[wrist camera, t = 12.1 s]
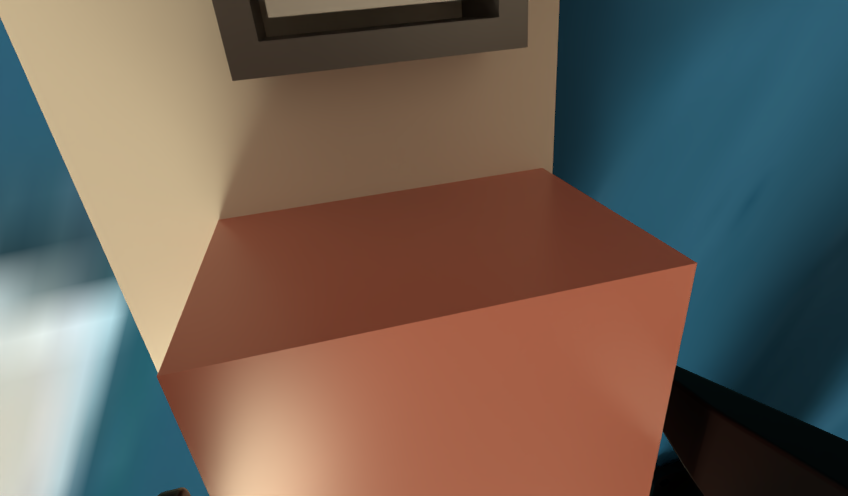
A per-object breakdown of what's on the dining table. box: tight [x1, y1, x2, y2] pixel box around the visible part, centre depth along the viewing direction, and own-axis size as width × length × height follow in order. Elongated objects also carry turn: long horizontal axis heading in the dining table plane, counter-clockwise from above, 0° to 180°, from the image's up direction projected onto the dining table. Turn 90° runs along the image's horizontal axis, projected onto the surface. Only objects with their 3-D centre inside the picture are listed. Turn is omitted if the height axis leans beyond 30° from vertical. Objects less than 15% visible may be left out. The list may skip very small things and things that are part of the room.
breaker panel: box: [0, 0, 559, 372], centre depth 12 cm, size 10×24×4 cm, turn 5°
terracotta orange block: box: [157, 168, 697, 496], centre depth 10 cm, size 7×7×5 cm
